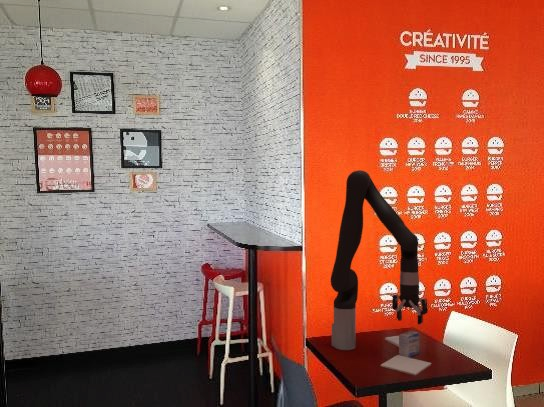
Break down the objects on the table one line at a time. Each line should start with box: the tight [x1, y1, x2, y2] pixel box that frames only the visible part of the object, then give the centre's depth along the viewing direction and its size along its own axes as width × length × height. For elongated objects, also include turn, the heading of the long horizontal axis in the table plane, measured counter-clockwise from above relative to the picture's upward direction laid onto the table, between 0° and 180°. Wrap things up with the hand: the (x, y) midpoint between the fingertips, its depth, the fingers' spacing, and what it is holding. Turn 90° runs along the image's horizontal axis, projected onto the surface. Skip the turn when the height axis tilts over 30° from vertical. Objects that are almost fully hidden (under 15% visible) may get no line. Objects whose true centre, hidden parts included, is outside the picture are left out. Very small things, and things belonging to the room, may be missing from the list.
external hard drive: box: [384, 335, 399, 348], centre depth 217 cm, size 2×8×12 cm
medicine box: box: [398, 330, 420, 358], centre depth 202 cm, size 8×4×9 cm, turn 131°
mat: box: [380, 354, 432, 376], centre depth 190 cm, size 14×14×1 cm
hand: (409, 322), depth 202 cm, fingers open, 8 cm apart
